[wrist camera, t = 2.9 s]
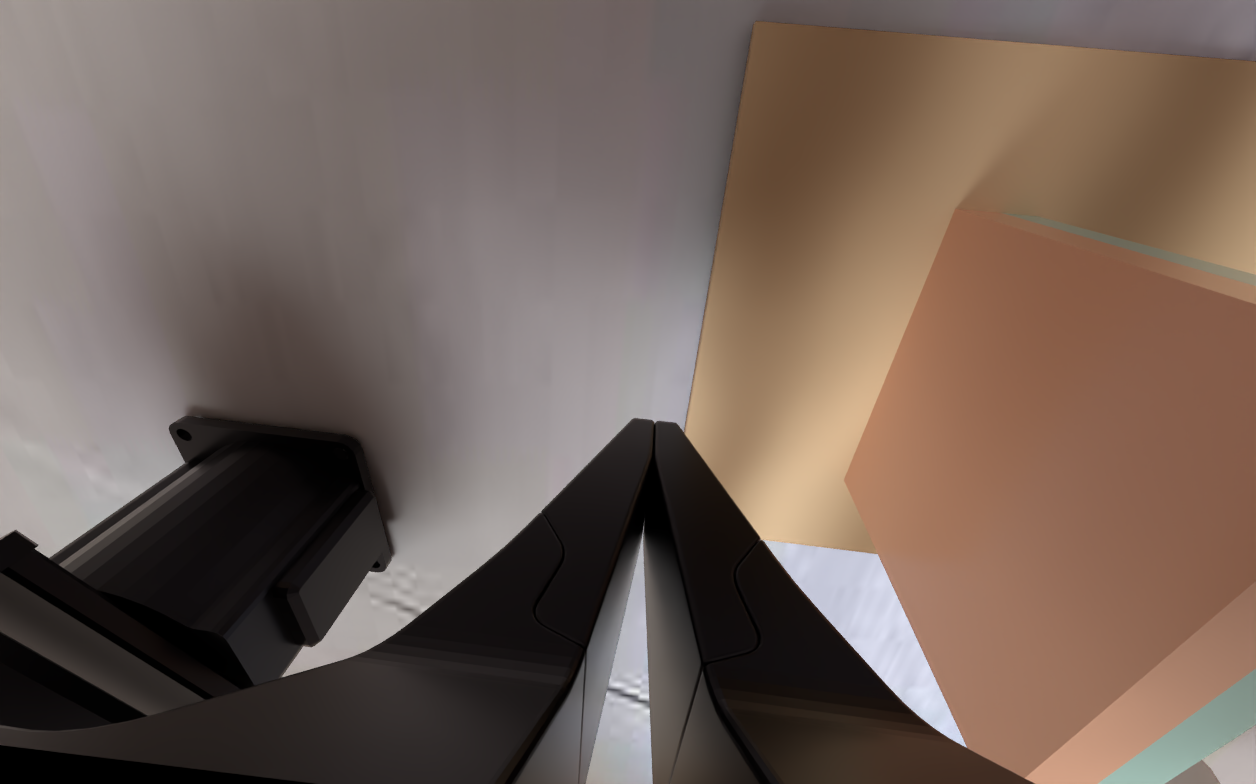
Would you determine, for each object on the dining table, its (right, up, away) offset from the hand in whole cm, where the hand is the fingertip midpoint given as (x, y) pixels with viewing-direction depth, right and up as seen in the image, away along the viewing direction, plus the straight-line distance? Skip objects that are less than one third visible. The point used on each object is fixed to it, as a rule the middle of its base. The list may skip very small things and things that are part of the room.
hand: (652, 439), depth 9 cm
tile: (+7, +1, +3) cm, 8 cm away
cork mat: (+9, +1, +4) cm, 10 cm away
